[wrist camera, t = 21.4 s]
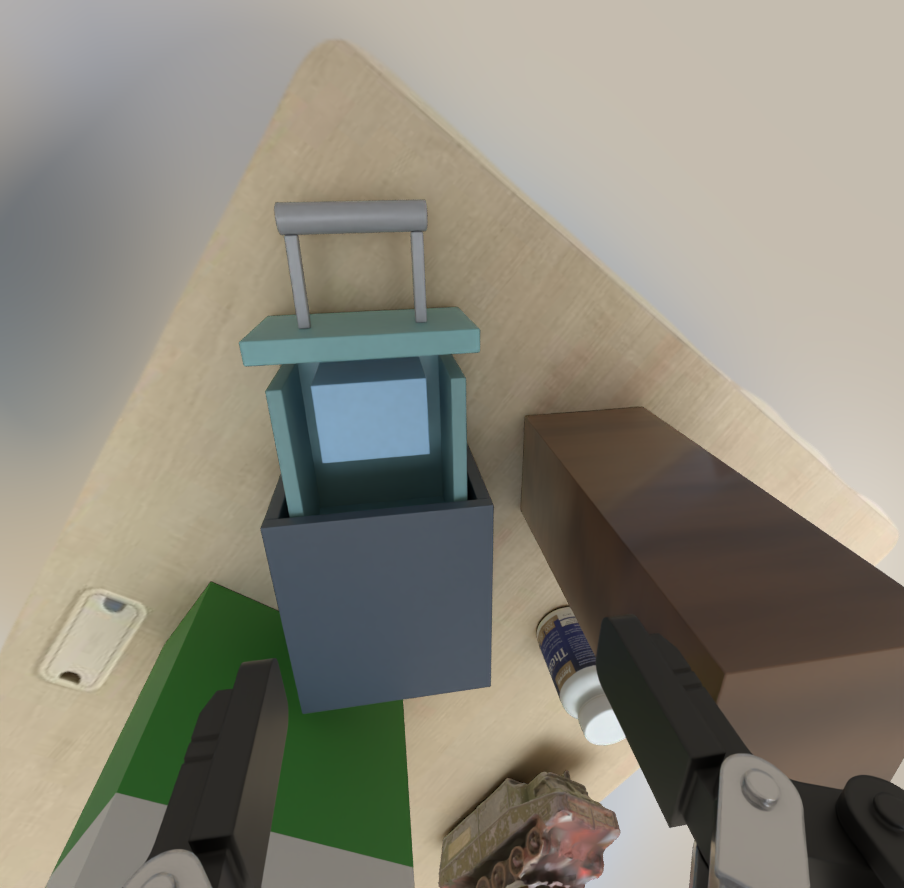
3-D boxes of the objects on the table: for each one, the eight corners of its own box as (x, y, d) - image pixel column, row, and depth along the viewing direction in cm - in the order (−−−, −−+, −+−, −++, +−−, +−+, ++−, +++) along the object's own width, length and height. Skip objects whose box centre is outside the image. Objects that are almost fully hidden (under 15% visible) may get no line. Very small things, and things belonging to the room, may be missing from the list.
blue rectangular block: (328, 431, 31) (322, 463, 27) (318, 363, 29) (310, 386, 25) (422, 424, 32) (430, 454, 28) (419, 356, 30) (426, 378, 26)
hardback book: (400, 664, 43) (428, 1111, 21) (353, 715, 45) (334, 1174, 23) (210, 581, 37) (-22, 1101, 15) (164, 645, 38) (-104, 1189, 17)
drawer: (247, 206, 26) (208, 201, 20) (456, 201, 28) (480, 196, 21) (302, 510, 34) (286, 573, 28) (461, 495, 36) (479, 552, 30)
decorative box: (397, 825, 53) (402, 944, 44) (526, 717, 49) (560, 826, 40) (482, 855, 58) (502, 967, 49) (606, 760, 54) (651, 864, 45)
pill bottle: (537, 607, 43) (580, 707, 34) (595, 601, 43) (652, 698, 35) (532, 652, 45) (571, 757, 36) (587, 646, 46) (638, 747, 37)
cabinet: (286, 456, 33) (259, 528, 26) (467, 442, 35) (493, 504, 27) (316, 617, 39) (302, 714, 32) (468, 599, 41) (490, 686, 33)
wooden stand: (524, 415, 35) (726, 673, 15) (643, 406, 36) (976, 635, 16) (520, 510, 38) (680, 824, 18) (628, 499, 39) (889, 783, 19)
